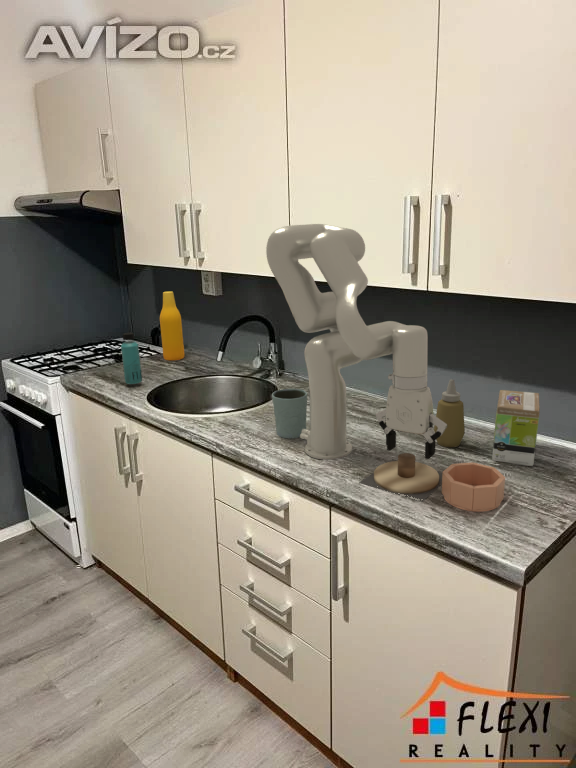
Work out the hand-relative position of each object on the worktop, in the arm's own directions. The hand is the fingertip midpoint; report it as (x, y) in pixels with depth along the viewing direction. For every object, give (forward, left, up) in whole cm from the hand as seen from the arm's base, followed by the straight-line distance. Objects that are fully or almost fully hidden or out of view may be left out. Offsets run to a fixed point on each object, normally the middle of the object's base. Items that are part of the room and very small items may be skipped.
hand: (410, 452), depth 135 cm
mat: (-1, 0, -7) cm, 7 cm away
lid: (-1, 0, -7) cm, 7 cm away
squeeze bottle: (-2, +26, -8) cm, 27 cm away
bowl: (+15, 0, -7) cm, 17 cm away
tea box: (+14, +30, -8) cm, 34 cm away
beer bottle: (-140, +49, -8) cm, 148 cm away
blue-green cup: (-42, +9, -8) cm, 44 cm away
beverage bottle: (-121, +13, -8) cm, 122 cm away
